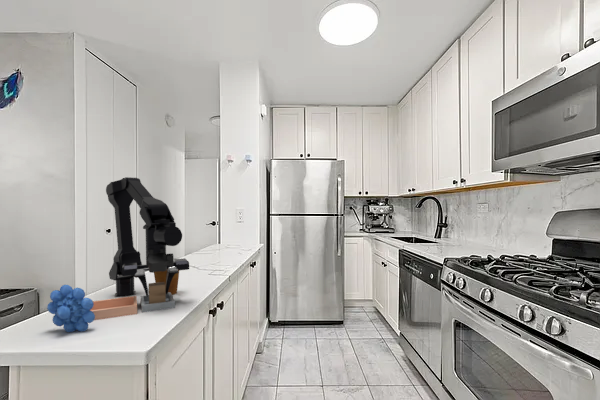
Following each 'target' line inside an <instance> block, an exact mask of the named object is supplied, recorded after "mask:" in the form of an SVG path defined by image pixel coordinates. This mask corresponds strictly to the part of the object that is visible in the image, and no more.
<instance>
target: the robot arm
mask: <svg viewBox="0 0 600 400" xmlns="http://www.w3.org/2000/svg"><path fill="white" fill-rule="evenodd" d="M105 193H106V195H107V199H108V202H109V203H110V205H111V206H112V207H113V208H114V217H115V218H114V219H115V228H116V238H117V239H116V240H117V241H116V242H117V250H116V253H115V254H114V257H113V263H112V266H111V267H110V269H109V271H108V275H109V276H108V277H109V280H111V281H112V280H113V281H115V293H114V298H123V297H131V296H137V293H136V292H137V291H136V290H135V278H138V279H139V281H140V283H141V285H142V287H143V290H144V293H145V295H146V296H148V295H149V287H148V284H147V283H148V282H147V278H146V273H145V272H148V273H150V274H151V273H153V274H154V272H158V271H162V272H164V271H166V270H167V275H166V287H165V290H166V294H167V293H168V290H169V287H170V283H171V281H172V278H173V276H174V275H175V274H176V273H178V272H179V273H180V271H188V270H190V262H189V260H187V259H186V258H177V259H173V258H174V253H167V246H169V247H175V246H178V245H179V244H180V243H181V241H182V240H183V233H182V230H181V229H180V228H179V227H178V226H177V225H176V224H177V223H176V222H175V218H174V216H173V215H172V212H171V210H170V208H169V206H168V205H167V204H166V203H165V202H164V201H163V200H161V199H158V198H155V197H154V196H153V195H152V194H151V193H150V192H149V191H148V190H147V189H146V187H145V186H144V184H142V181H141V179H140V178H138V177H129V176H127V177H123V178H121V179H119V180H115V181H110V182H109V184H107V185H106V188H105ZM133 201H134V202H135V203H136V204H137V206H138V207H139V208H140V209H139V215H140V217H141V219H142V220H143V222H144V223H145V224H144V225H143V227H142V229H144V230H145V264H143V262H142V260H141V253H140V251H138V250H136V248H135V247H134V239H133V238H134V237H133V227H132V217H131V205H132V203H133ZM178 270H179V271H178Z"/></svg>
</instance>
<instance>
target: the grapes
mask: <svg viewBox="0 0 600 400" xmlns="http://www.w3.org/2000/svg"><path fill="white" fill-rule="evenodd" d="M85 296H86V292H85V290H84V289H83V288H81V287H75V288H73V287H72V286H70V285H69V284H63V285H61V286H60V288H59V290H58V289H55V290H52V291H51V293H50V295H49V298H50V300H51V301H50V302H49V303H48V304H47V307H46V308H47V311H48V313H49V314H52V315H53V316H52V323H53V325H55V326H57V327H63V330H64V331H65V333H72V332H76V330H77V331H78V332H80V333H81V332H85V331H87V330H88V328H89V324H90V323H93V322H94V321H95V320H94V319H95V315H94V313H93V312H92V311H90V310H91V309H92V308H93V306H94V303H93V299H91V298H90V297H85Z"/></svg>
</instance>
